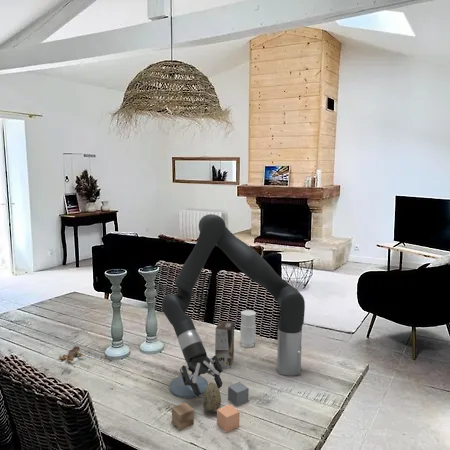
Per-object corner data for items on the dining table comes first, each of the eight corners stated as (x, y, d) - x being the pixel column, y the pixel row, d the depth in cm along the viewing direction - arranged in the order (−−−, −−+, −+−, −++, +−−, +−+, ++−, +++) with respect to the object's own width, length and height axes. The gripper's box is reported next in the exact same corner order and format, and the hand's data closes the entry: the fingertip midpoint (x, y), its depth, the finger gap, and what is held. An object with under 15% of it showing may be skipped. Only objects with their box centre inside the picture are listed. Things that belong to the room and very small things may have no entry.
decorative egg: (214, 418, 134) (214, 389, 132) (199, 412, 137) (199, 384, 136) (224, 409, 139) (224, 381, 137) (209, 404, 142) (209, 376, 141)
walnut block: (185, 416, 135) (185, 402, 134) (193, 424, 131) (193, 409, 130) (172, 422, 132) (171, 407, 131) (179, 430, 128) (179, 415, 127)
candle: (237, 346, 186) (238, 314, 184) (243, 340, 193) (243, 309, 191) (252, 349, 184) (253, 316, 182) (257, 342, 190) (258, 311, 188)
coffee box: (230, 368, 167) (230, 330, 164) (214, 366, 168) (214, 328, 165) (234, 358, 175) (234, 321, 173) (219, 356, 177) (219, 320, 174)
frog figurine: (67, 351, 181) (66, 343, 181) (91, 354, 178) (91, 346, 178) (50, 363, 170) (49, 354, 170) (76, 367, 167) (75, 358, 167)
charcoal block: (239, 395, 148) (239, 381, 147) (248, 401, 144) (248, 388, 143) (228, 399, 145) (228, 386, 144) (236, 406, 141) (237, 392, 140)
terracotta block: (229, 418, 134) (229, 404, 134) (239, 426, 130) (239, 411, 130) (216, 424, 131) (217, 409, 131) (226, 432, 127) (226, 417, 127)
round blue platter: (212, 380, 157) (212, 377, 157) (201, 400, 144) (201, 397, 144) (177, 375, 161) (177, 372, 161) (163, 394, 147) (163, 391, 147)
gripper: (177, 346, 139) (195, 394, 131) (212, 336, 147) (232, 380, 139) (169, 355, 144) (187, 402, 136) (204, 345, 152) (222, 388, 144)
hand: (209, 391), depth 138 cm, fingers open, 8 cm apart
